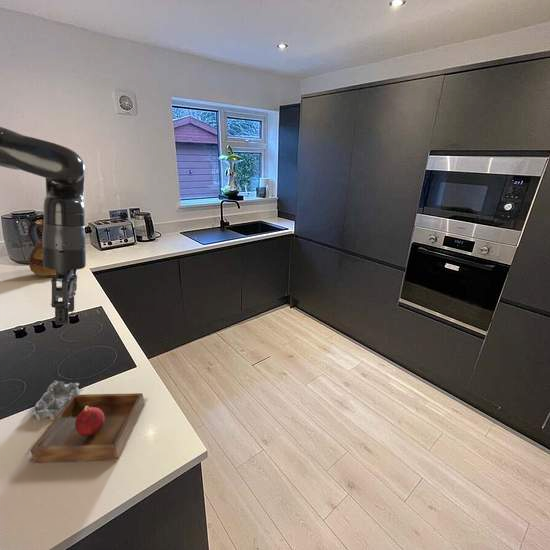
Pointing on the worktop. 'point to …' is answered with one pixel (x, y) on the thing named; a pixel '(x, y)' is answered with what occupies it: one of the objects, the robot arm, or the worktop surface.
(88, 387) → the worktop surface
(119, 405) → the wooden tray
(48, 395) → the egg carton
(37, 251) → the ceramic pitcher
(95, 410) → the onion
